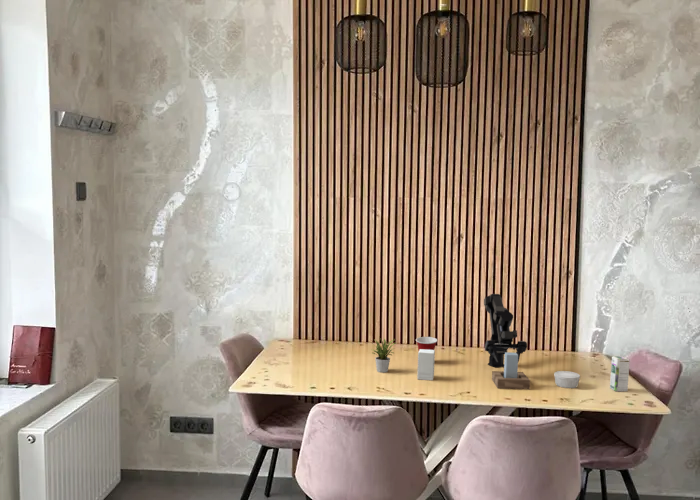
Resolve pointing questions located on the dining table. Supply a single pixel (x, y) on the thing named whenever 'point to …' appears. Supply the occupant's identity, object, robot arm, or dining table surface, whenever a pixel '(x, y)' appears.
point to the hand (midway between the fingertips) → (507, 362)
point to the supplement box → (426, 364)
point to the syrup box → (619, 373)
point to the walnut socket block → (510, 381)
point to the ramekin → (566, 379)
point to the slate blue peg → (510, 365)
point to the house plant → (383, 356)
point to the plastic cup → (426, 343)
